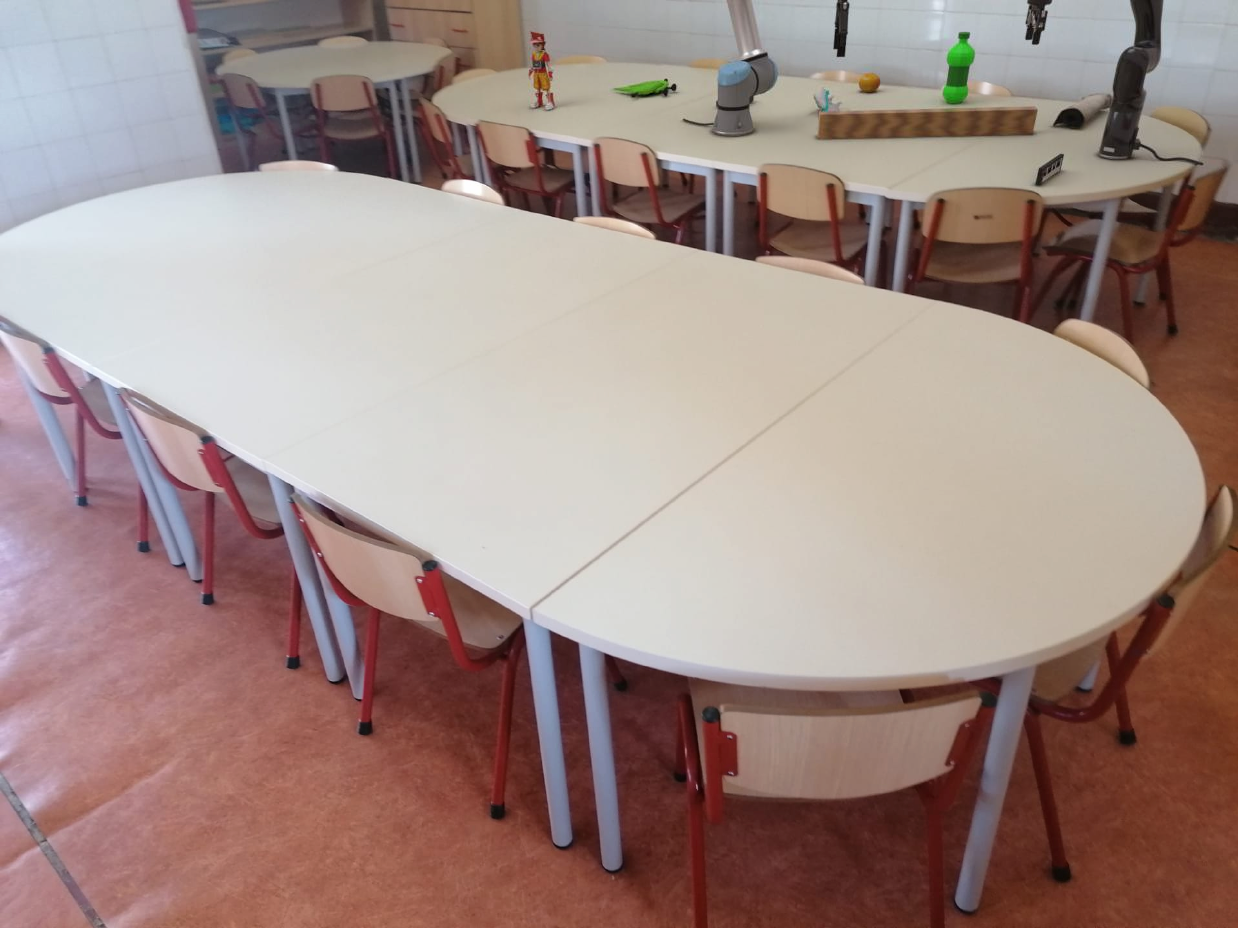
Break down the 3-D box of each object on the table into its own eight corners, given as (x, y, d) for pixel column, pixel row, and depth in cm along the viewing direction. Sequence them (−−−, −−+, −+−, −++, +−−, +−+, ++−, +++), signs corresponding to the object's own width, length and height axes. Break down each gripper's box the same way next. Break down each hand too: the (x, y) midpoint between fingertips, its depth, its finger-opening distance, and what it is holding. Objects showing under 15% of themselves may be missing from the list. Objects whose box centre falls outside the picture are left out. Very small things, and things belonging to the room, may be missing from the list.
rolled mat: (1079, 98, 337) (1104, 81, 329) (1092, 118, 337) (1118, 102, 329) (1048, 120, 320) (1074, 102, 312) (1063, 141, 320) (1088, 124, 312)
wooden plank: (818, 139, 322) (820, 114, 318) (817, 135, 326) (819, 111, 321) (1032, 134, 313) (1037, 109, 309) (1029, 131, 317) (1034, 106, 312)
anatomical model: (809, 86, 352) (834, 80, 351) (812, 113, 358) (836, 106, 357) (818, 95, 340) (845, 88, 339) (822, 123, 346) (847, 116, 345)
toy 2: (686, 85, 398) (631, 84, 414) (685, 72, 395) (629, 72, 411) (651, 104, 381) (596, 103, 397) (650, 92, 378) (594, 91, 394)
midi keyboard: (1039, 185, 269) (1043, 168, 266) (1035, 184, 270) (1038, 168, 267) (1060, 170, 279) (1064, 154, 277) (1056, 169, 280) (1060, 153, 277)
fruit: (854, 84, 373) (866, 66, 369) (856, 88, 380) (868, 70, 377) (870, 95, 371) (882, 77, 368) (872, 98, 379) (884, 81, 376)
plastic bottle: (973, 101, 354) (984, 32, 339) (955, 106, 349) (966, 36, 335) (952, 97, 361) (962, 29, 346) (934, 102, 356) (944, 33, 342)
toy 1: (525, 109, 381) (517, 32, 364) (534, 104, 388) (527, 28, 371) (550, 110, 377) (543, 32, 360) (559, 105, 384) (553, 28, 367)
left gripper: (860, -12, 285) (853, 60, 297) (852, -22, 305) (846, 45, 317) (836, -11, 286) (830, 60, 298) (830, -21, 306) (825, 46, 318)
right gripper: (1060, -10, 284) (1049, 46, 293) (1048, -16, 295) (1037, 38, 304) (1035, -9, 285) (1025, 47, 294) (1024, -15, 296) (1014, 39, 305)
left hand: (839, 53), depth 308 cm, fingers open, 13 cm apart
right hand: (1031, 42), depth 299 cm, fingers open, 8 cm apart
